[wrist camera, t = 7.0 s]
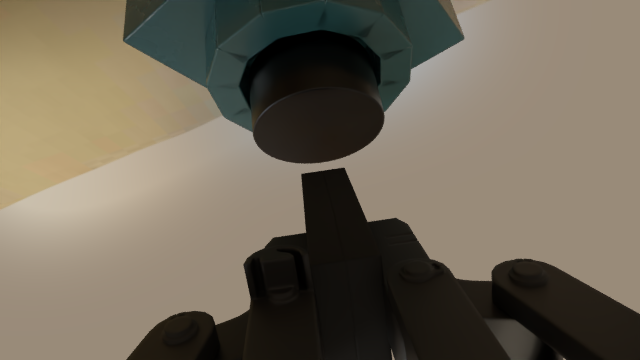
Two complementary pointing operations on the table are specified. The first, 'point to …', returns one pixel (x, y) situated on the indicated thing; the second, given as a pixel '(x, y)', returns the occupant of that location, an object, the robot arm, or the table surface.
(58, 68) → the table surface
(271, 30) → the teal block with knob
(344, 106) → the push button
